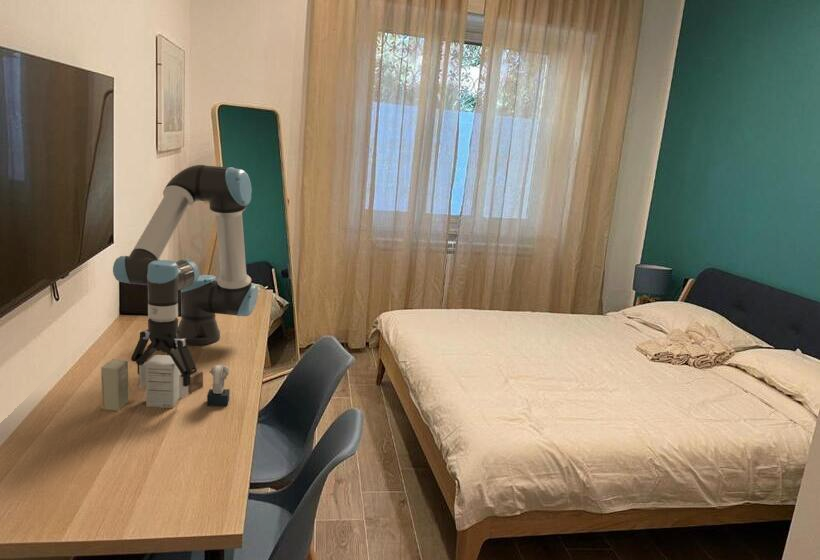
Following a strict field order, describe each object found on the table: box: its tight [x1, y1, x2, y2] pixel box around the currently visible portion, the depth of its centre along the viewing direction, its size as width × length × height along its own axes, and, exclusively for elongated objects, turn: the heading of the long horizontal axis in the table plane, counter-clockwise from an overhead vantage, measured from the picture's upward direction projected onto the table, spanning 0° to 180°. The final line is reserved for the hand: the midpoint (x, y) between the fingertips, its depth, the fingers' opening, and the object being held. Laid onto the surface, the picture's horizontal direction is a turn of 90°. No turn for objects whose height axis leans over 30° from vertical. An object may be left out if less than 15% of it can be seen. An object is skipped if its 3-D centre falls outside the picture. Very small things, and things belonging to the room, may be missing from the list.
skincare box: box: [100, 358, 130, 411], centre depth 160 cm, size 6×4×12 cm
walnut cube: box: [180, 369, 204, 394], centre depth 176 cm, size 5×5×5 cm
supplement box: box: [145, 354, 180, 409], centre depth 165 cm, size 7×7×13 cm
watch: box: [206, 364, 231, 407], centre depth 167 cm, size 6×8×11 cm
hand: (163, 391), depth 165 cm, fingers open, 13 cm apart
